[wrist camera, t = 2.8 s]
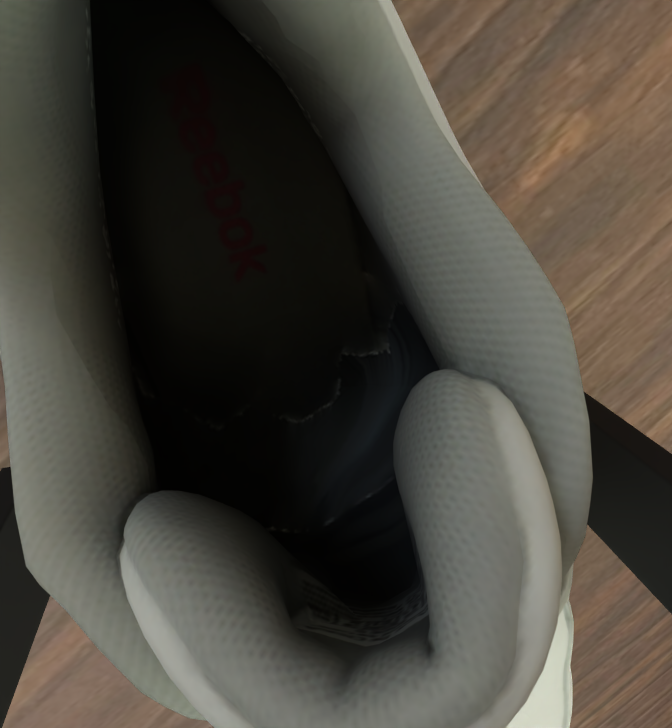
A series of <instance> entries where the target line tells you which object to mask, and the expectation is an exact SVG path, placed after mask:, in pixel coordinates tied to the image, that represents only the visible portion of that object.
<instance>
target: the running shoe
mask: <svg viewBox="0 0 672 728" xmlns="http://www.w3.org/2000/svg"><path fill="white" fill-rule="evenodd" d="M0 359H1V361H2V368H3V376H4V384H5V395H6V411H7V426H8V442H9V454H10V465H11V475H12V485H13V495H14V506H15V514H16V519H17V524H18V529H19V534H20V539H21V544H22V549H23V554H24V559H25V563H26V567H27V568H28V569H29V571H30V572H31V574H32V575H33V576H34V578H35V579H36V581H37V582H38V583H39V585H40V586H41V587H42V588H43V589H44V590H45V591H46V592H48V593H49V594H50V595H51V596H52V597H53V598H54V599H55V600H56V601H57V602H58V603H59V604H60V605H61V606H62V607H63V608H64V609H65V610H66V611H67V612H68V614H69V615H70V616H71V617H72V618H73V619H74V621H75V622H76V623H77V624H78V625H79V627H80V628H81V629H82V630H83V631H84V632H85V634H86V635H87V636H88V637H89V638H90V640H91V641H92V642H93V643H94V644H95V645H96V647H97V648H98V649H99V650H100V651H101V652H102V653H103V654H104V655H105V656H106V657H107V658H108V659H109V660H110V661H111V662H112V663H113V664H114V665H115V666H116V667H117V668H118V670H119V671H120V672H121V673H122V674H123V675H124V676H125V677H126V678H127V679H128V680H129V681H130V682H131V683H132V684H133V685H134V686H135V687H136V688H137V689H138V690H139V691H140V692H141V693H143V694H145V695H146V696H148V697H150V698H151V699H153V700H154V701H156V702H158V703H159V704H161V705H163V706H164V707H166V708H168V709H171V710H173V711H175V712H177V713H179V714H181V715H183V716H186V717H188V718H192V719H199V720H206V721H208V722H209V723H210V724H211V725H212V726H213V727H214V728H569V727H570V721H571V715H572V675H571V668H570V662H571V654H572V646H573V628H574V620H573V615H572V610H571V606H570V602H569V595H570V590H571V585H572V576H573V564H574V561H575V559H576V557H577V555H578V552H579V550H580V547H581V545H582V543H583V540H584V538H585V535H586V528H587V521H588V515H589V508H590V501H591V491H592V482H593V471H592V456H591V440H590V425H589V417H588V412H587V407H586V402H585V397H584V391H583V386H582V381H581V376H580V371H579V365H578V360H577V355H576V350H575V345H574V341H573V337H572V332H571V328H570V324H569V321H568V318H567V314H566V311H565V308H564V306H563V304H562V302H561V301H560V299H559V297H558V295H557V294H556V292H555V290H554V288H553V287H552V285H551V283H550V282H549V280H548V278H547V277H546V275H545V274H544V272H543V270H542V269H541V267H540V266H539V264H538V263H537V261H536V260H535V258H534V256H533V255H532V253H531V252H530V250H529V249H528V247H527V246H526V244H525V243H524V241H523V240H522V239H521V237H520V236H519V234H518V233H517V232H516V230H515V229H514V228H513V226H512V225H511V223H510V222H509V221H508V219H507V218H506V216H505V215H504V214H503V212H502V211H501V210H500V208H499V207H498V206H497V205H496V203H495V202H494V201H493V200H492V198H491V197H490V196H489V195H488V194H487V192H486V191H485V190H484V188H483V187H482V185H481V183H480V181H479V180H478V178H477V176H476V174H475V173H474V171H473V169H472V167H471V166H470V164H469V162H468V161H467V159H466V157H465V155H464V153H463V151H462V149H461V147H460V145H459V144H458V142H457V140H456V138H455V136H454V134H453V132H452V130H451V128H450V126H449V123H448V121H447V119H446V117H445V115H444V113H443V110H442V108H441V106H440V104H439V102H438V100H437V97H436V95H435V93H434V91H433V89H432V87H431V84H430V82H429V80H428V78H427V76H426V74H425V71H424V69H423V67H422V65H421V63H420V61H419V59H418V56H417V54H416V52H415V50H414V48H413V46H412V44H411V41H410V39H409V37H408V35H407V33H406V31H405V29H404V26H403V24H402V22H401V20H400V18H399V16H398V14H397V12H396V10H395V7H394V5H393V3H392V1H391V0H0Z"/></svg>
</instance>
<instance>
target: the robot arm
mask: <svg viewBox="0 0 672 728" xmlns="http://www.w3.org/2000/svg"><path fill="white" fill-rule="evenodd" d="M584 397H585V402H586V407H587V412H588V417H589V425H590V440H591V456H592V471H593V482H592V491H591V501H590V508H589V515H588V521H587V524H588V525H589V527H590V528H591V529H592V530H593V531H594V532H595V533H596V534H597V535H598V536H599V537H600V538H601V539H602V540H603V541H604V542H605V544H606V545H607V546H608V547H609V548H610V549H611V550H612V551H613V552H614V553H615V554H616V555H617V556H618V557H619V558H620V559H621V561H622V562H623V563H624V564H625V565H626V566H627V567H628V568H629V569H630V570H631V571H632V572H633V573H634V574H635V575H636V577H637V578H638V579H639V580H640V581H641V582H642V583H643V584H644V585H645V586H646V587H647V588H648V589H649V590H650V591H651V592H652V594H653V595H654V596H655V597H656V598H657V599H658V600H659V601H660V602H661V603H662V604H663V605H664V606H665V607H666V608H667V609H668V611H669V612H670V613H671V614H672V454H671V453H669V452H668V451H667V450H665V449H664V448H662V447H661V446H660V445H658V444H657V443H655V442H654V441H653V440H651V439H650V438H648V437H647V436H646V435H644V434H643V433H641V432H640V431H638V430H637V429H636V428H634V427H633V426H631V425H630V424H629V423H627V422H626V421H624V420H623V419H622V418H620V417H619V416H617V415H616V414H615V413H613V412H612V411H610V410H609V409H608V408H606V407H605V406H603V405H602V404H600V403H599V402H598V401H596V400H595V399H593V398H592V397H591V396H589V395H588V394H586V393H585V392H584ZM49 597H50V594H49V593H48V592H46V591H45V590H44V589H43V588H42V587H41V586H40V585H39V583H38V582H37V581H36V579H35V578H34V576H33V575H32V574H31V572H30V571H29V569H28V568H27V567H26V563H25V559H24V554H23V549H22V544H21V539H20V534H19V529H18V524H17V519H16V514H15V506H14V495H13V485H12V475H11V467H7V468H2V469H1V471H0V728H2V726H3V723H4V720H5V718H6V715H7V712H8V709H9V707H10V704H11V701H12V698H13V696H14V693H15V690H16V687H17V685H18V682H19V679H20V676H21V674H22V671H23V668H24V665H25V663H26V660H27V657H28V655H29V652H30V649H31V646H32V644H33V641H34V638H35V635H36V633H37V630H38V627H39V624H40V622H41V619H42V616H43V613H44V611H45V608H46V605H47V602H48V600H49Z"/></svg>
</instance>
